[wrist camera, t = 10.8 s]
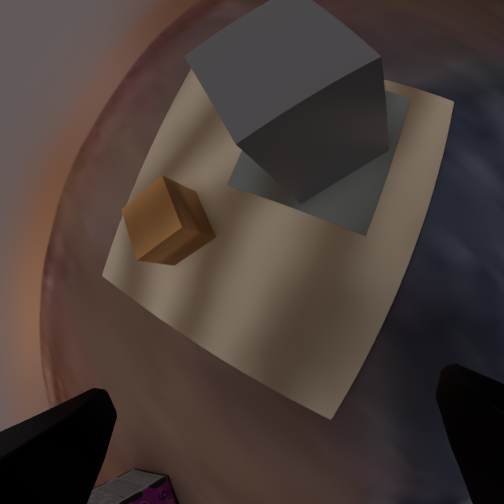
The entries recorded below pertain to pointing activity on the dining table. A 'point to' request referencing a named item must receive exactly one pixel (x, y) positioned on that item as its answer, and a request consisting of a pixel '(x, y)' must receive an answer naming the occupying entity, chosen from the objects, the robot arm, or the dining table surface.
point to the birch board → (287, 248)
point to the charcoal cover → (296, 93)
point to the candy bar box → (134, 489)
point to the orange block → (166, 223)
